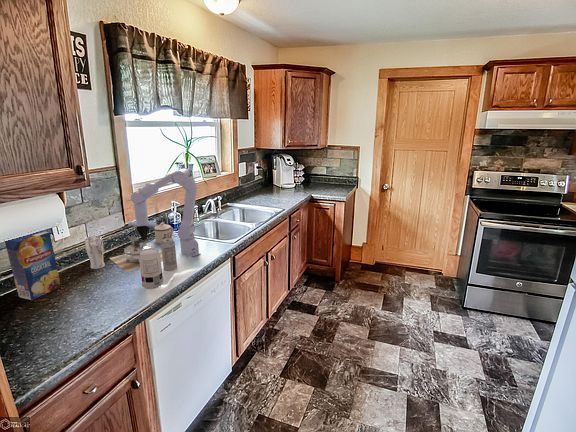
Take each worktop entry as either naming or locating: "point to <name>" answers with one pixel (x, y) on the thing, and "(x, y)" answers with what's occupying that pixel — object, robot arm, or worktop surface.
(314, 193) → the worktop surface
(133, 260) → the cream flat block
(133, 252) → the cooker lid
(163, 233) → the teacup with lid
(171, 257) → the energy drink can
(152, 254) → the supplement can
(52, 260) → the juice carton
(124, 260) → the trivet board
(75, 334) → the worktop surface
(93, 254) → the beer glass
